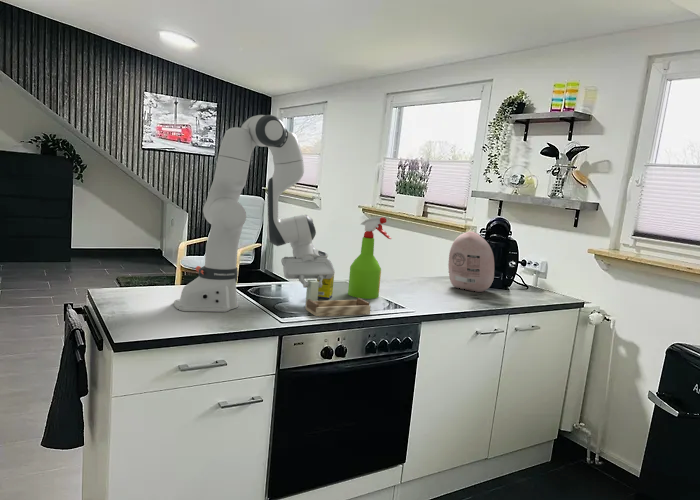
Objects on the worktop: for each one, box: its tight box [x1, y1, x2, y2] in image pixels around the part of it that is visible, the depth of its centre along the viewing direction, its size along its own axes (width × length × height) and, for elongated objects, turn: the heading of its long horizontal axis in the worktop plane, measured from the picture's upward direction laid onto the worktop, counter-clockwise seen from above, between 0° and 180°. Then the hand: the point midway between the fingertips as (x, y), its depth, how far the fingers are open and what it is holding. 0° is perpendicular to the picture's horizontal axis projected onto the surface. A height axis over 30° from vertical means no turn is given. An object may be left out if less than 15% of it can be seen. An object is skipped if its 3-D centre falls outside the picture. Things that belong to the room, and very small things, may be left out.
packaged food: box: [447, 231, 496, 293], centre depth 261 cm, size 22×20×30 cm
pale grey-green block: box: [305, 279, 319, 307], centre depth 199 cm, size 3×4×10 cm
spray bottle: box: [347, 216, 393, 300], centre depth 225 cm, size 14×18×35 cm
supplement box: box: [316, 274, 335, 300], centre depth 216 cm, size 6×6×11 cm
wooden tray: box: [305, 298, 371, 317], centre depth 194 cm, size 22×10×4 cm, turn 118°
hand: (313, 286), depth 198 cm, fingers open, 4 cm apart
